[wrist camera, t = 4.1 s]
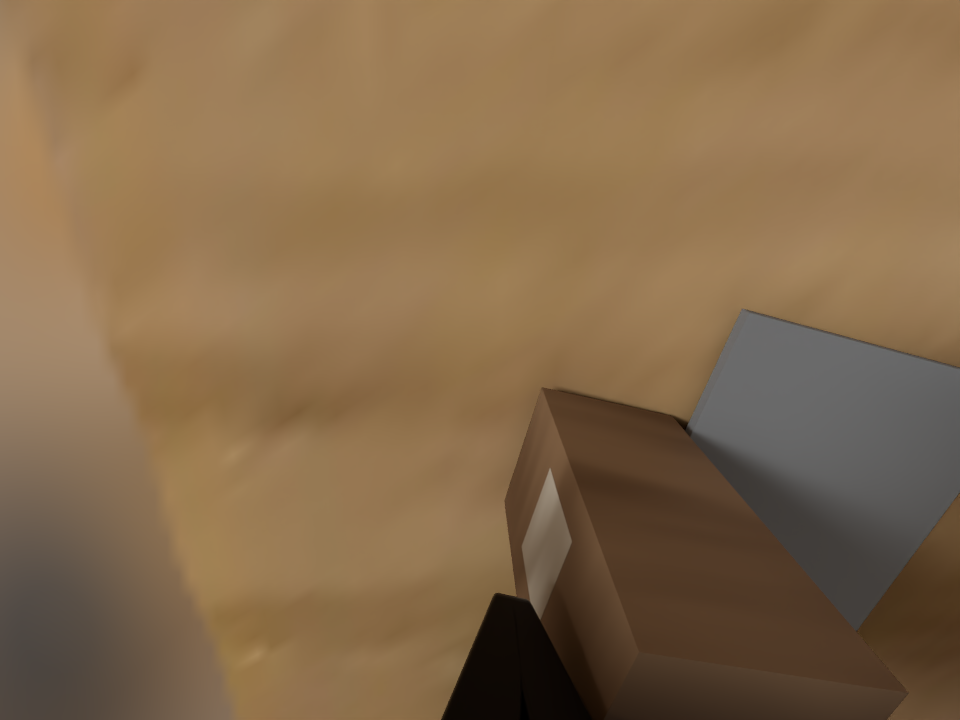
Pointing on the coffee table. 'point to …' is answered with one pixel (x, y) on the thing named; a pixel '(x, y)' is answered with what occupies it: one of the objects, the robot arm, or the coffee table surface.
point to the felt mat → (834, 449)
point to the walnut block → (672, 580)
